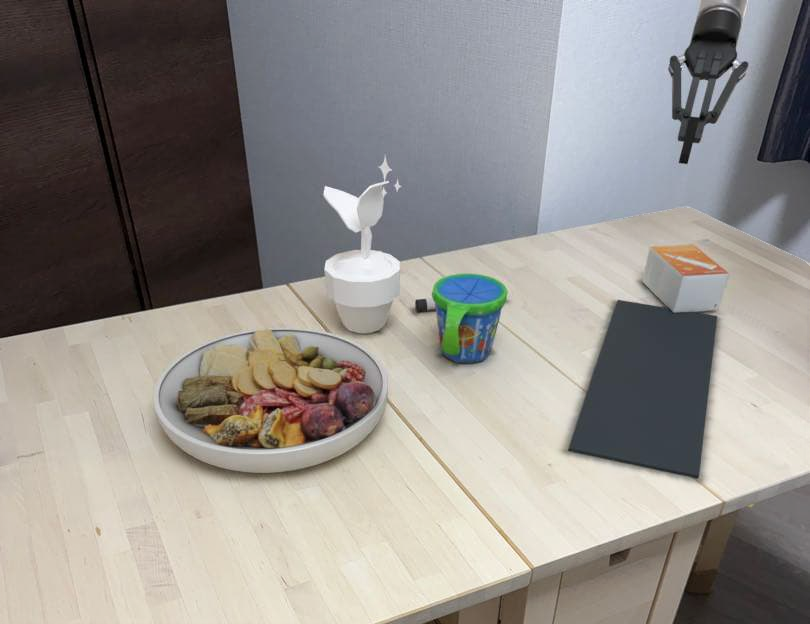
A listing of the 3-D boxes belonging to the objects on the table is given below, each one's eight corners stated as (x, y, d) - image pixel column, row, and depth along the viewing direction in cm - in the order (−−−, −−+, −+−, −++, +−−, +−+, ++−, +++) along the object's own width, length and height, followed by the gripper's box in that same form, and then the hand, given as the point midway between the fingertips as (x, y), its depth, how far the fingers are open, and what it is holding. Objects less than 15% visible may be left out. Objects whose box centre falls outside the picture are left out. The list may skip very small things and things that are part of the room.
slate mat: (716, 318, 121) (717, 315, 120) (698, 478, 91) (699, 475, 90) (617, 302, 125) (617, 299, 124) (568, 451, 95) (568, 447, 94)
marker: (418, 314, 121) (418, 302, 119) (415, 308, 122) (415, 297, 121) (506, 304, 124) (508, 293, 122) (502, 299, 125) (504, 287, 124)
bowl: (113, 452, 93) (95, 398, 88) (237, 342, 114) (229, 293, 108) (328, 511, 86) (324, 457, 80) (420, 382, 106) (422, 331, 100)
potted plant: (416, 325, 118) (419, 155, 101) (362, 351, 112) (356, 175, 95) (362, 299, 124) (356, 135, 107) (308, 322, 118) (293, 152, 101)
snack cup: (456, 322, 119) (460, 260, 112) (517, 338, 115) (525, 275, 108) (410, 367, 109) (411, 301, 102) (475, 386, 105) (481, 319, 98)
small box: (693, 242, 127) (730, 272, 118) (683, 279, 131) (719, 311, 122) (648, 245, 126) (683, 276, 116) (640, 281, 130) (672, 314, 121)
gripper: (754, 42, 127) (720, 175, 127) (676, 36, 130) (642, 166, 130) (764, 9, 120) (728, 151, 120) (681, 3, 123) (646, 142, 123)
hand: (684, 159), depth 125 cm, fingers closed
